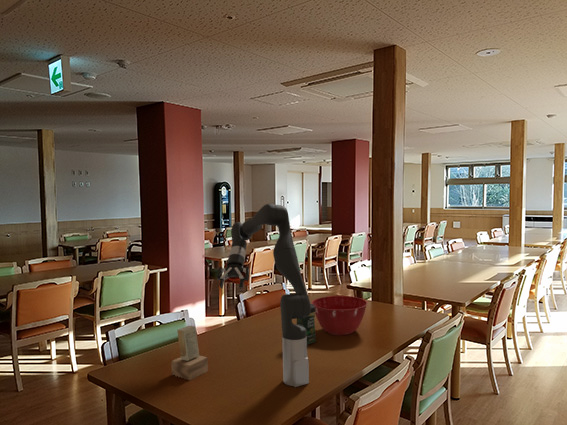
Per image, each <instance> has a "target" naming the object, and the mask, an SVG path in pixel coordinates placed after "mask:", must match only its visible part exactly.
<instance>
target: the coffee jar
mask: <svg viewBox="0 0 567 425" xmlns="http://www.w3.org/2000/svg"><path fill="white" fill-rule="evenodd" d="M310 305H311V313H310V315H309V316H308V317H305V318H297V319H296V325H300V326H303V327H304V328H306V331H307V346H308V345H311V344H315V343H316V341H317V338H316V336H317V334H316V326H315V324H316V323H315V317H316V314H315V306H314V304H312V303H310Z"/></svg>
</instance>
